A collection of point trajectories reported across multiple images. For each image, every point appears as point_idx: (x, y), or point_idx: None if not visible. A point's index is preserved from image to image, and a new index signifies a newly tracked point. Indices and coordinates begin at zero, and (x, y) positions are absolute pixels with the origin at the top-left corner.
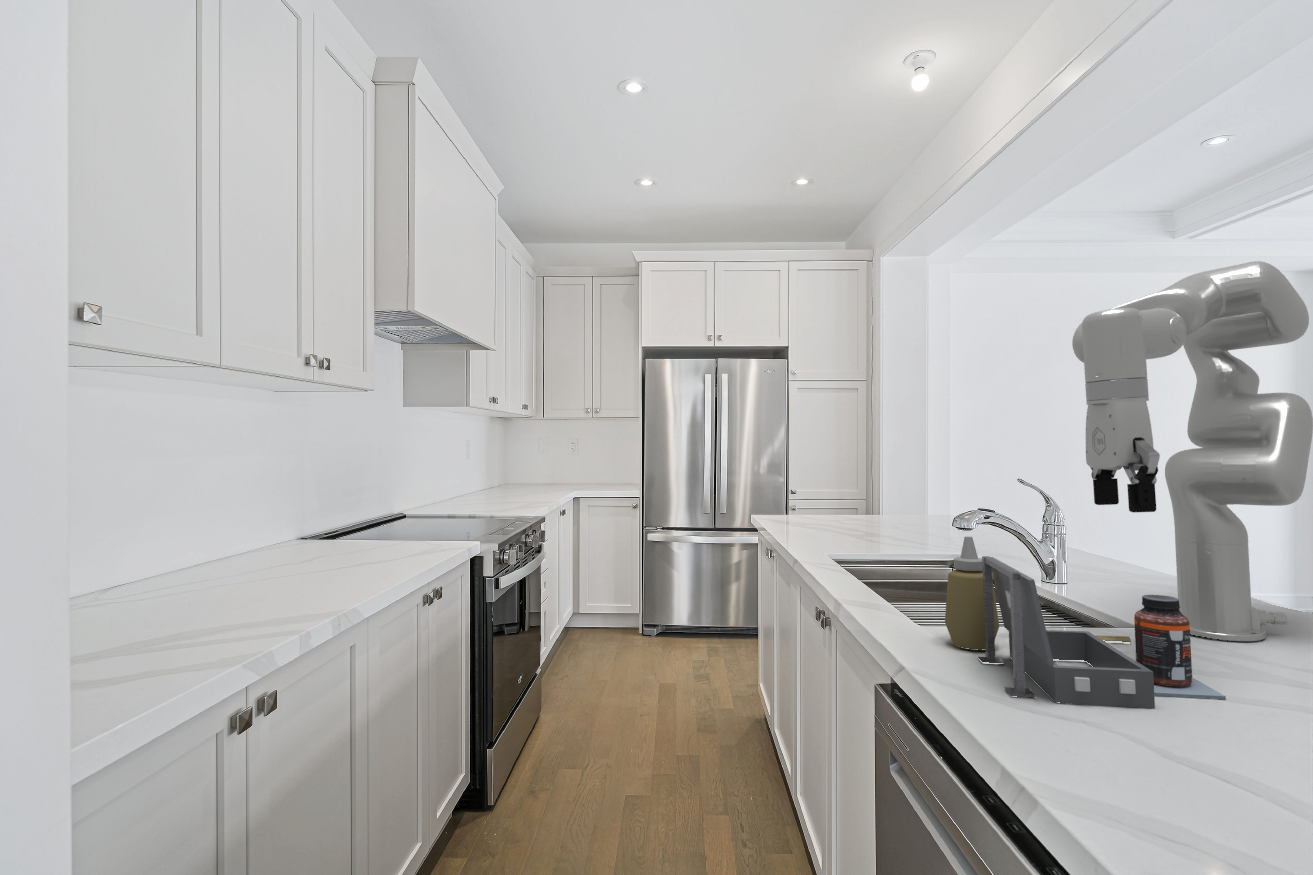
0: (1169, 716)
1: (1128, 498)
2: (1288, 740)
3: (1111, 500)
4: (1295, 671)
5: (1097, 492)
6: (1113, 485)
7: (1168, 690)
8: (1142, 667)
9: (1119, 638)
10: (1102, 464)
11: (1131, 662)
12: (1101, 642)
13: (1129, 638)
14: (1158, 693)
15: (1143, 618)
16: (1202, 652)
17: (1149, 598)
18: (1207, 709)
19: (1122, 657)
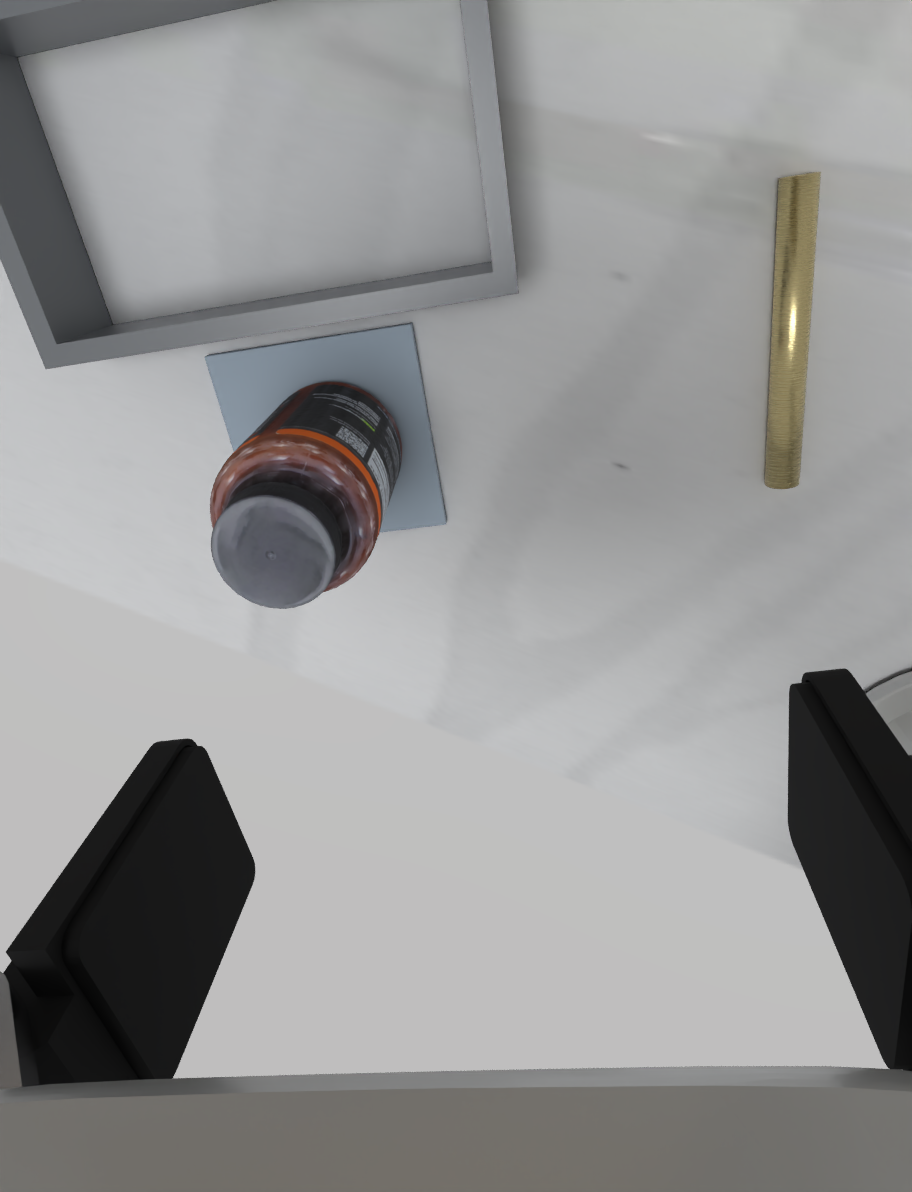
0: None
1: (124, 816)
2: (40, 556)
3: (795, 808)
4: (557, 764)
5: (838, 769)
6: (863, 975)
7: (251, 427)
8: (80, 351)
9: (774, 453)
10: (259, 1162)
11: (123, 333)
12: (354, 300)
13: (773, 485)
14: (217, 393)
15: (238, 452)
16: (695, 644)
17: (231, 509)
18: (165, 474)
19: (184, 322)
